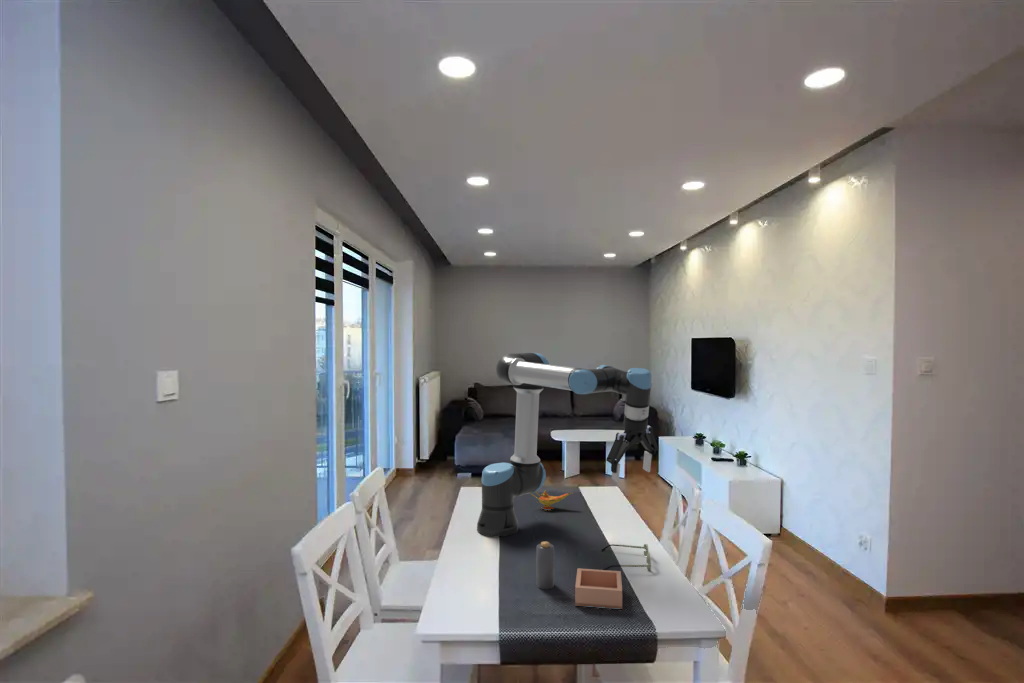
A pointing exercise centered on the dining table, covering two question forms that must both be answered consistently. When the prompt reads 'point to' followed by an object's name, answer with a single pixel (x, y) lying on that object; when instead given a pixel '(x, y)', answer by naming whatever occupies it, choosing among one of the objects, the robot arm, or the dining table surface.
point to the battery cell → (545, 565)
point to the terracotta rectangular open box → (598, 588)
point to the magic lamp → (549, 499)
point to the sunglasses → (646, 553)
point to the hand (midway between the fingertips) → (631, 475)
